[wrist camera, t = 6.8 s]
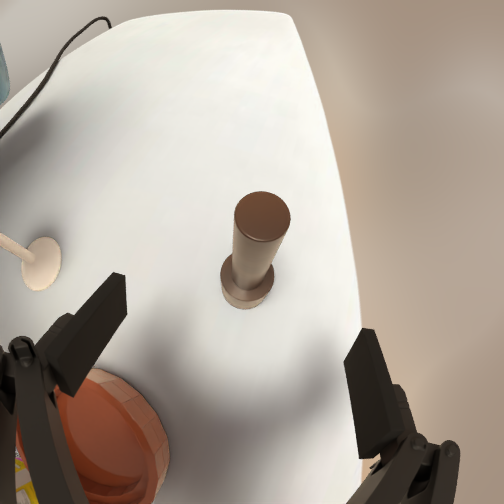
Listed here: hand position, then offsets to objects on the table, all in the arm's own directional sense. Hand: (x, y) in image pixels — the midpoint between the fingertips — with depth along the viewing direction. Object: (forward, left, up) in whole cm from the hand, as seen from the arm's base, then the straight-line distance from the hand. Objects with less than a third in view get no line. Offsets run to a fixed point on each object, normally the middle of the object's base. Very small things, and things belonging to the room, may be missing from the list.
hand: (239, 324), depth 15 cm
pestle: (-5, +1, -13) cm, 13 cm away
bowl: (+11, -15, -13) cm, 23 cm away
